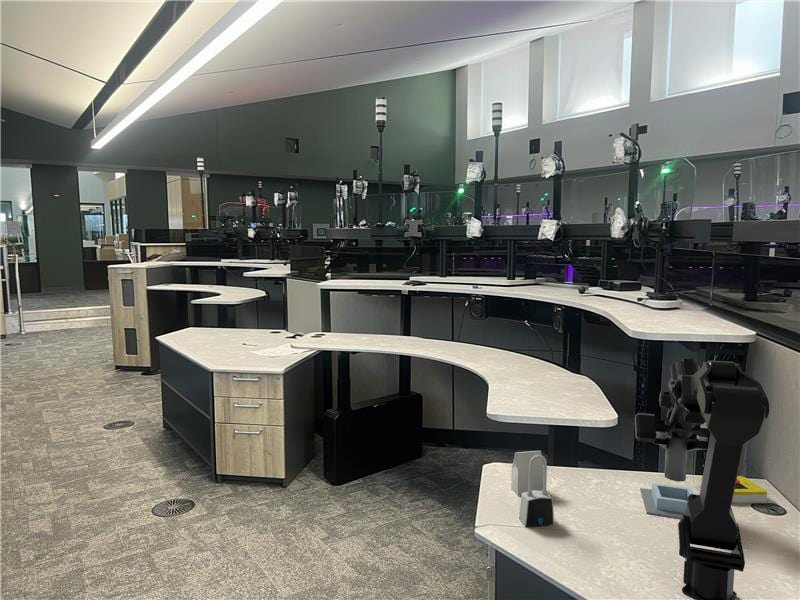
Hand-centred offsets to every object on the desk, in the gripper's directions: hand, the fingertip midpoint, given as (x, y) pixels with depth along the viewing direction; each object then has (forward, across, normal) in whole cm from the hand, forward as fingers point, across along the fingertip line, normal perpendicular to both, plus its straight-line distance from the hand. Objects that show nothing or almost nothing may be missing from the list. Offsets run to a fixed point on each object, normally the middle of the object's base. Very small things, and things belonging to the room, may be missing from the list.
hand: (675, 447), depth 121 cm
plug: (+4, 0, +6) cm, 7 cm away
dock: (+8, 0, +10) cm, 13 cm away
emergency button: (+17, -15, +3) cm, 23 cm away
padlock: (-4, +30, +24) cm, 38 cm away
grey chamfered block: (+6, +33, +13) cm, 36 cm away
